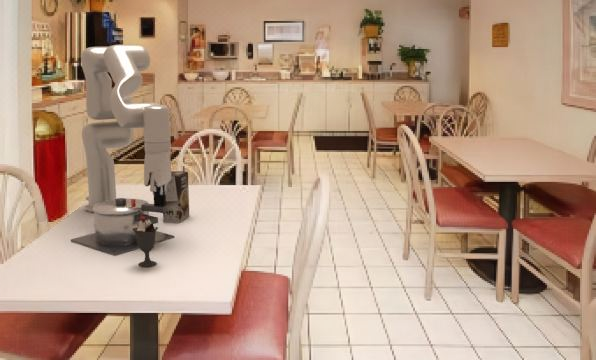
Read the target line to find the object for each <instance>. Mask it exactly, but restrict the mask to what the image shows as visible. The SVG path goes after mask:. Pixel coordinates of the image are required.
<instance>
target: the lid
mask: <svg viewBox="0 0 596 360" xmlns="http://www.w3.org/2000/svg"><path fill="white" fill-rule="evenodd" d="M138 210H140V212H142V211H148V212H149V213H150V212H151V213H159V214H163V213H165V212H167V205H157V204H154V203H149V202H148V201H147V200H144V199H140V198H125V197H121V198H120V197H118V198H116V199H115V200H108V201H103V202H100V203H97V204H95V205H94V206H93V212H92V213H94V212H95V213H97V214H102V215H127V214H134V213H138V212H139V211H138Z"/></svg>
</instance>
